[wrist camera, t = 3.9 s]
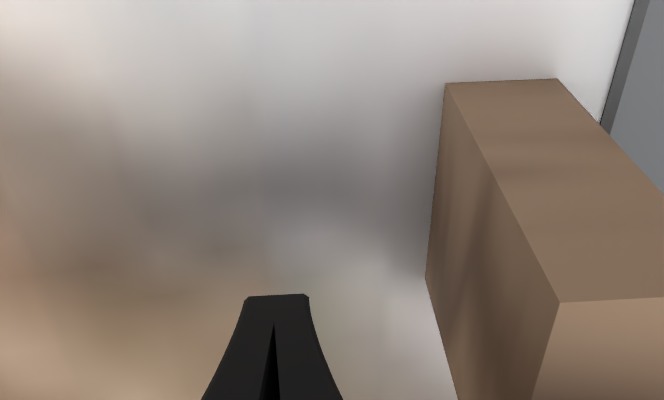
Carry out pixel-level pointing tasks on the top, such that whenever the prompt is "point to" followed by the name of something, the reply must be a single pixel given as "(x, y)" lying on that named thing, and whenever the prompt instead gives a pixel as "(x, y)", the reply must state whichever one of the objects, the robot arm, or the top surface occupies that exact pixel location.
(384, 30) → the top surface
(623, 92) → the mat
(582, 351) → the slab
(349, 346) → the top surface
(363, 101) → the top surface
